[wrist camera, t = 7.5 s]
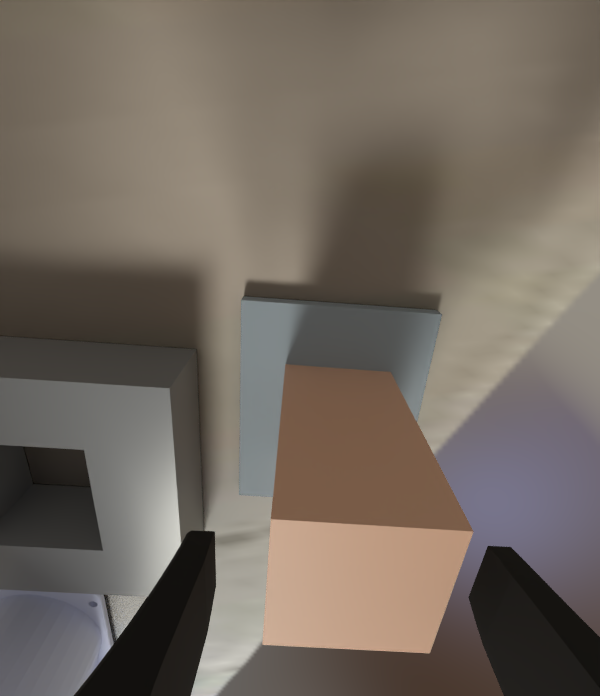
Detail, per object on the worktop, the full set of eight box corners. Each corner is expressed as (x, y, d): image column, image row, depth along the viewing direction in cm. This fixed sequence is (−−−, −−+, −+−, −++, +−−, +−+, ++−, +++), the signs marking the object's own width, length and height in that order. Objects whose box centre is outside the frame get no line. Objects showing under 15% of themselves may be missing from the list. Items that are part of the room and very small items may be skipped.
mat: (395, 495, 19) (398, 504, 18) (241, 486, 19) (239, 495, 18) (436, 310, 15) (441, 314, 14) (243, 296, 15) (241, 299, 14)
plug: (374, 457, 17) (429, 653, 10) (279, 450, 17) (262, 644, 10) (390, 371, 15) (473, 531, 8) (285, 364, 15) (270, 519, 8)
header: (203, 533, 20) (185, 598, 17) (-95, 517, 19) (-174, 580, 16) (196, 349, 16) (169, 388, 12) (-184, 323, 15) (-315, 357, 12)
